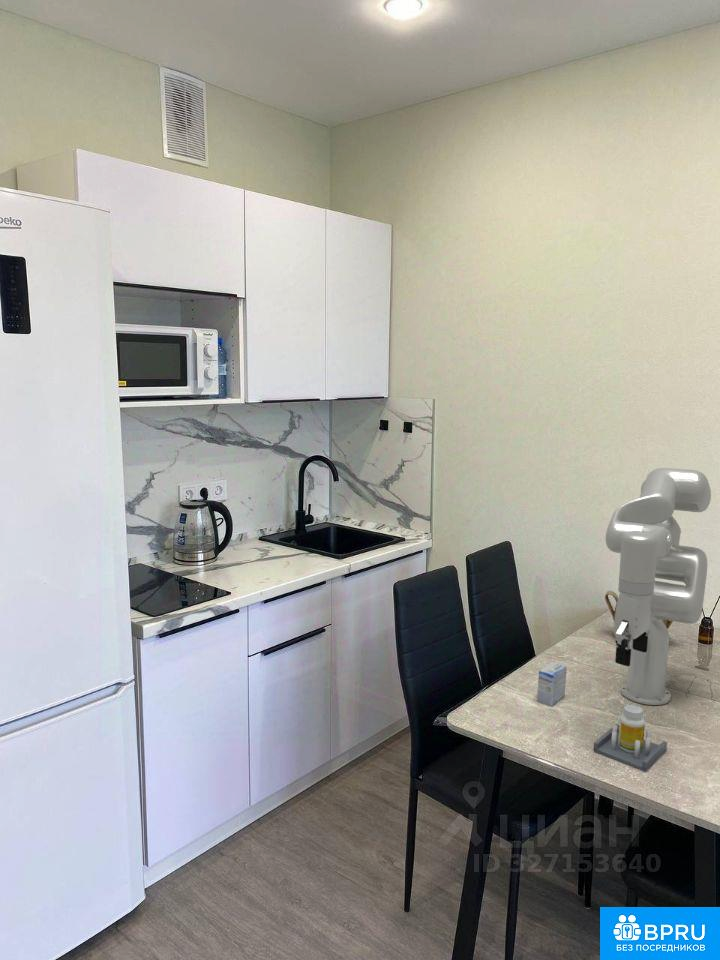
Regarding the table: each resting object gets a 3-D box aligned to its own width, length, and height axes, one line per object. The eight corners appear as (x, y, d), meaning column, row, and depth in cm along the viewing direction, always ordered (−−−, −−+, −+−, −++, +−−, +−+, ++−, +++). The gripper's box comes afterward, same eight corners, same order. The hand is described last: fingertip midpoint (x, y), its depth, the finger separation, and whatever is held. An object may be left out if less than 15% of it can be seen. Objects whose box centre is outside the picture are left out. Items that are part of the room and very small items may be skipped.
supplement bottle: (615, 741, 168) (617, 702, 166) (638, 742, 168) (641, 703, 166) (621, 753, 163) (624, 713, 161) (646, 754, 162) (649, 714, 161)
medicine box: (549, 691, 195) (551, 661, 194) (565, 696, 192) (567, 665, 191) (536, 701, 189) (538, 670, 188) (552, 707, 186) (554, 675, 185)
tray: (615, 732, 173) (617, 713, 173) (666, 751, 165) (668, 731, 165) (593, 751, 165) (594, 732, 164) (645, 772, 157) (647, 751, 156)
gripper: (634, 573, 170) (630, 641, 174) (603, 592, 158) (599, 665, 161) (667, 580, 165) (661, 650, 169) (637, 600, 153) (632, 675, 156)
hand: (631, 657), depth 165 cm, fingers open, 9 cm apart
